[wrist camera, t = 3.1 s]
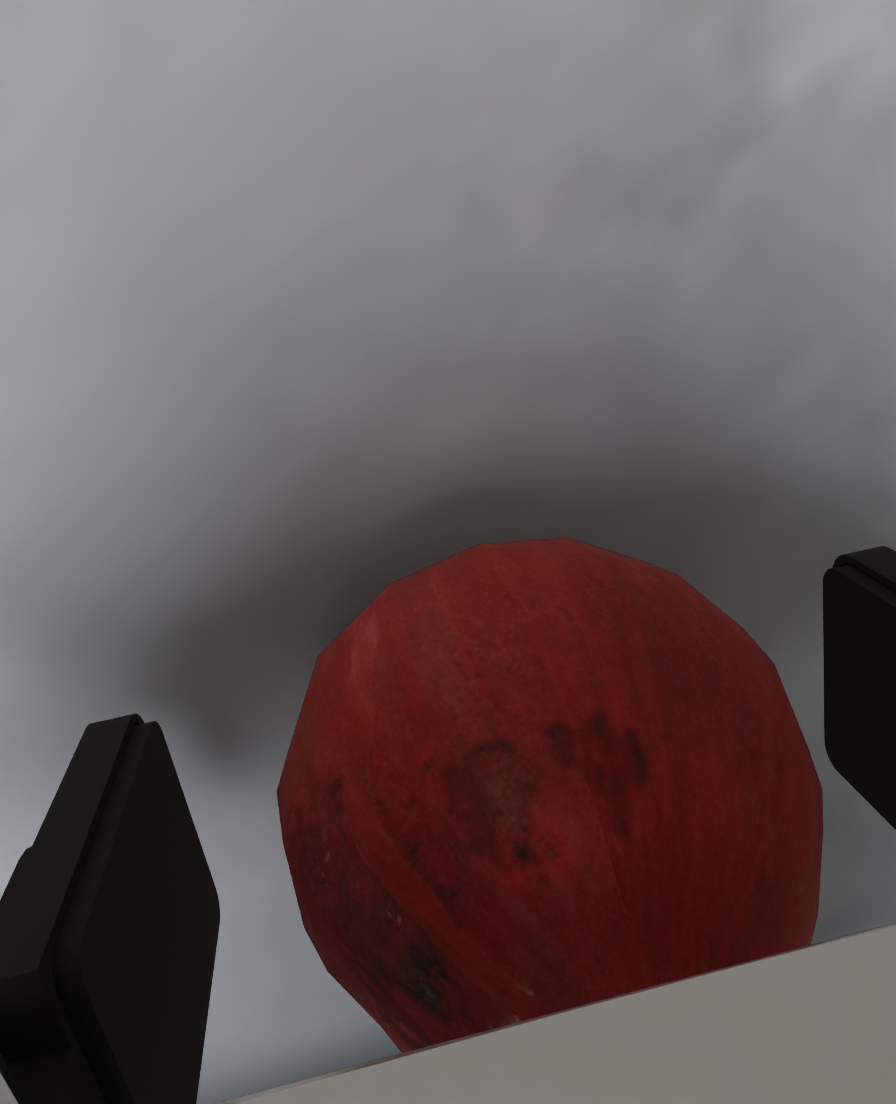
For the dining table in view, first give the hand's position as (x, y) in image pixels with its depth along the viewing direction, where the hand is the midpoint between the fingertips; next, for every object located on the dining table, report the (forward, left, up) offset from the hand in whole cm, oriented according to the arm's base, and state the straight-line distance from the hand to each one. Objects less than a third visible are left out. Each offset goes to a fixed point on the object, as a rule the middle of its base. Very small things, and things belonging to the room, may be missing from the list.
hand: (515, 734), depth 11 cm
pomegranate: (0, 0, -3) cm, 3 cm away
